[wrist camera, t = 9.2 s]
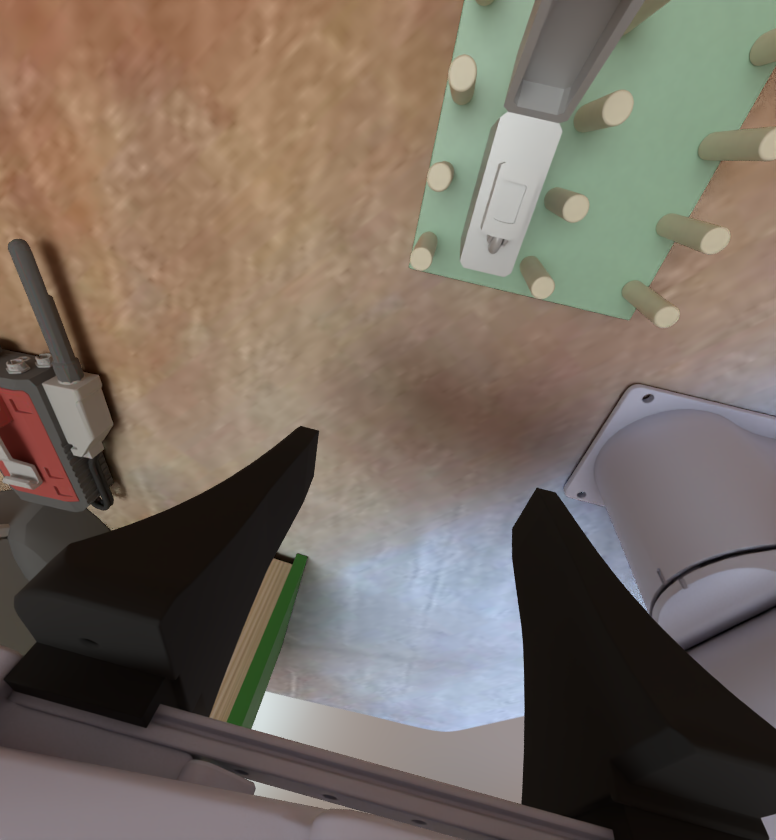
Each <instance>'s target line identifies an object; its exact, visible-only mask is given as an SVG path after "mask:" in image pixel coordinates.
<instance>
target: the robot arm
mask: <svg viewBox="0 0 776 840" xmlns="http://www.w3.org/2000/svg"><path fill="white" fill-rule="evenodd" d="M647 394H651V395H650V397H649V398H647V399H642V398H643V397H644V396H645V395H647ZM318 435H319V431H318V430H314V429H310V428H306V427H303V426H300V427H298V428H297V429H295V430H294V431H293V432H292V433H291V434H289V435H288V436H287V437H286V438H285V439H283V440H282V441H281V442H280V443H278V444H277V445H276V446H274V447H273V448H272V449H271V450H269V451H268V452H266V453H265V454H264V455H262V456H261V457H260V458H258V459H257V460H255V461H254V462H253V463H251V464H250V465H248V466H247V467H245V468H244V469H242V470H240V471H239V472H237V473H236V474H234V475H233V476H231V477H230V478H228V479H226V480H225V481H223V482H221V483H220V484H218V485H216V486H214V487H213V488H211V489H209V490H207V491H205V492H203V493H201V494H199V495H197V496H195V497H193V498H191V499H189V500H187V501H185V502H183V503H181V504H179V505H177V506H175V507H172V508H170V509H168V510H166V511H163V512H161V513H158V514H156V515H153V516H151V517H148V518H146V519H143V520H141V521H138V522H135V523H133V524H130V525H127V526H124V527H121V528H118V529H116V530H112V531H109V532H106V533H103V534H100V535H96V536H93V537H90V538H87V539H84V540H80V541H77V542H73V543H70V544H69V545H67V546H66V547H65V548H64V549H63V550H62V551H61V552H59V553H58V554H57V555H56V556H55V557H54V558H53V559H52V560H51V561H50V562H49V563H48V564H47V565H46V566H45V567H44V568H43V569H42V570H41V571H40V572H39V573H38V574H37V575H36V576H35V577H34V578H32V579H31V580H30V581H29V582H28V583H27V584H26V585H25V586H24V587H23V588H22V589H21V590H20V591H19V592H18V593H17V594H16V595H15V596H14V609H15V611H16V613H17V615H18V616H19V618H20V619H21V621H22V622H23V623H24V625H25V626H26V628H27V629H28V630H29V632H30V633H31V635H32V636H33V637H34V639H35V640H36V643H35V644H34V645H33V646H32V648H31V649H30V650H29V651H28V652H27V653H26V654H25V655H24V656H23V655H22V654H21V653H19V652H17V651H15V650H13V649H10V648H8V647H5V646H1V645H0V840H776V417H774V416H770V415H766V414H762V413H758V412H754V411H749V410H745V409H741V408H737V407H733V406H729V405H725V404H721V403H716V402H712V401H708V400H704V399H700V398H696V397H692V396H687V395H683V394H679V393H675V392H671V391H667V390H663V389H658V388H654V387H650V386H646V385H642V384H635V385H632V386H630V387H629V388H628V389H627V390H626V391H625V393H624V394H623V396H622V397H621V399H620V400H619V402H618V404H617V405H616V407H615V408H614V410H613V411H612V413H611V414H610V416H609V418H608V419H607V421H606V422H605V424H604V425H603V427H602V429H601V430H600V432H599V433H598V435H597V436H596V438H595V439H594V441H593V443H592V444H591V446H590V447H589V449H588V450H587V452H586V454H585V455H584V457H583V458H582V460H581V461H580V463H579V464H578V466H577V468H576V469H575V471H574V472H573V474H572V475H571V477H570V479H569V480H568V482H567V483H566V485H565V486H564V493H565V495H566V496H567V497H569V498H572V499H576V500H580V501H584V502H588V503H592V504H596V505H600V506H604V507H606V509H607V511H608V514H609V516H610V519H611V521H612V524H613V526H614V529H615V531H616V534H617V536H618V539H619V541H620V544H621V546H622V549H623V551H624V553H625V556H626V558H627V561H628V563H629V566H630V568H631V571H632V573H633V576H634V578H635V581H636V583H637V586H638V588H639V591H640V593H641V595H642V598H643V600H644V603H645V605H646V608H647V610H648V613H649V614H648V613H647V611H646V610H645V609H644V608H643V607H642V606H641V605H640V604H639V602H638V601H637V600H636V599H635V598H634V597H633V596H632V595H631V594H630V592H629V591H628V590H627V589H626V588H625V586H624V585H623V584H622V583H621V582H620V580H619V579H618V578H617V577H616V575H615V574H614V573H613V571H612V570H611V569H610V568H609V566H608V565H607V564H606V563H605V561H604V560H603V559H602V557H601V556H600V555H599V553H598V552H597V551H596V549H595V548H594V546H593V545H592V544H591V542H590V541H589V539H588V538H587V537H586V535H585V534H584V532H583V531H582V530H581V528H580V527H579V525H578V524H577V522H576V521H575V519H574V518H573V516H572V515H571V514H570V512H569V511H568V509H567V508H566V506H565V505H564V503H563V502H562V501H561V499H560V498H559V496H558V495H557V494H556V493H555V492H552V491H548V490H544V489H540V488H536V490H535V491H534V493H533V495H532V496H531V498H530V500H529V501H528V503H527V505H526V506H525V508H524V510H523V511H522V513H521V515H520V516H519V518H518V520H517V521H516V523H515V525H514V526H513V528H512V560H513V568H514V576H515V583H516V590H517V598H518V605H519V612H520V619H521V626H522V636H523V655H524V698H525V720H524V763H523V787H522V788H523V789H522V804H518V803H515V802H511V801H507V800H504V799H500V798H497V797H493V796H489V795H486V794H482V793H478V792H475V791H471V790H468V789H464V788H461V787H457V786H454V785H450V784H446V783H442V782H439V781H436V780H432V779H428V778H425V777H421V776H418V775H414V774H410V773H407V772H403V771H400V770H396V769H392V768H388V767H385V766H382V765H378V764H374V763H371V762H367V761H363V760H359V759H356V758H353V757H349V756H346V755H342V754H338V753H334V752H331V751H328V750H324V749H320V748H317V747H313V746H310V745H306V744H302V743H299V742H295V741H291V740H288V739H284V738H281V737H277V736H273V735H270V734H266V733H263V732H259V731H256V730H252V729H248V728H245V727H241V726H238V725H234V724H231V723H227V722H223V721H220V720H216V719H213V718H209V716H210V714H211V711H212V708H213V705H214V703H215V700H216V697H217V695H218V692H219V689H220V687H221V684H222V681H223V679H224V676H225V673H226V671H227V668H228V666H229V663H230V660H231V658H232V655H233V653H234V650H235V648H236V645H237V643H238V640H239V637H240V635H241V632H242V630H243V627H244V625H245V622H246V620H247V618H248V615H249V613H250V610H251V608H252V605H253V603H254V600H255V598H256V596H257V593H258V591H259V589H260V586H261V584H262V581H263V579H264V577H265V574H266V572H267V570H268V568H269V566H270V564H271V562H272V560H273V558H274V556H275V554H276V552H277V551H278V549H279V547H280V545H281V543H282V541H283V539H284V538H285V536H286V534H287V532H288V530H289V528H290V527H291V525H292V523H293V521H294V519H295V517H296V515H297V514H298V512H299V510H300V508H301V506H302V504H303V502H304V500H305V497H306V495H307V492H308V490H309V487H310V484H311V482H312V479H313V477H314V469H315V461H316V452H317V444H318ZM579 492H583V493H579ZM245 778H246V779H245ZM247 779H249V780H253V781H256V782H260V783H263V784H267V785H270V786H274V787H278V788H281V789H285V790H288V791H292V792H295V793H299V794H303V795H306V796H310V797H313V798H317V799H320V800H325V801H328V802H331V803H335V804H338V805H342V806H345V807H349V808H352V809H356V810H360V811H364V812H367V813H363V812H359V811H354V810H346V809H323V808H318V807H313V806H307V805H302V804H297V803H292V802H287V801H282V800H277V799H271V798H266V797H261V796H255V795H254V792H255V785H254V783H253V782H251V781H249V780H247ZM368 813H370V814H368ZM373 814H374V815H373ZM391 819H392V820H391ZM416 826H417V827H416ZM423 828H424V829H423ZM448 835H449V836H448Z"/></svg>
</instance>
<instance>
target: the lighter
mask: <svg viewBox="0 0 776 840" xmlns="http://www.w3.org/2000/svg"><path fill="white" fill-rule="evenodd" d="M644 1H645V0H535V2H534V5H533V8H532V11H531V14H530V17H529V20H528V23H527V26H526V29H525V32H524V35H523V38H522V41H521V44H520V47H519V50H518V53H517V57H516V61H515V64H514V68H513V72H512V76H511V80H510V84H509V87H508V91H507V95H506V99H505V103H504V107H505V108H506V110H507V111H508V112H507V113H505V114H504V115H503V116H501V117H500V118H499V119H498V120H497V121H496V123H495V124H494V125H493V126H492V127H491V130H490V133H489V137H488V141H487V144H486V148H485V152H484V155H483V159H482V162H481V166H480V170H479V173H478V177H477V181H476V184H475V188H474V192H473V195H472V199H471V203H470V206H469V210H468V214H467V217H466V221H465V225H464V228H463V232H462V236H461V242H460V262H461V264H462V266H463V268H467V269H472V270H476V271H480V272H484V273H488V274H493V275H497V276H501V277H506V276H507V275H509V274H511V272H512V270H513V267H514V264H515V261H516V259H517V256H518V253H519V250H520V248H521V245H522V242H523V239H524V237H525V234H526V231H527V228H528V226H529V223H530V220H531V217H532V214H533V212H534V209H535V206H536V203H537V201H538V198H539V195H540V192H541V190H542V187H543V184H544V181H545V179H546V176H547V173H548V170H549V168H550V165H551V162H552V159H553V156H554V154H555V151H556V148H557V145H558V143H559V140H560V137H561V134H562V129H561V126H560V124H559V123H561V122H565V121H568V119H569V118H570V116H571V115H572V113H573V112H574V110H575V108H576V107H577V105H578V104H579V102H580V101H581V99H582V98H583V96H584V94H585V93H586V91H587V90H588V88H589V87H590V85H591V84H592V82H593V81H594V79H595V77H596V76H597V74H598V73H599V71H600V70H601V68H602V67H603V65H604V63H605V62H606V60H607V59H608V57H609V56H610V54H611V53H612V51H613V49H614V48H615V46H616V45H617V43H618V42H619V40H620V39H621V37H622V36H623V34H624V32H625V31H626V29H627V28H628V26H629V25H630V23H631V22H632V20H633V18H634V17H635V15H636V14H637V12H638V11H639V9H640V8H641V6H642V4H643V3H644Z"/></svg>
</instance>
